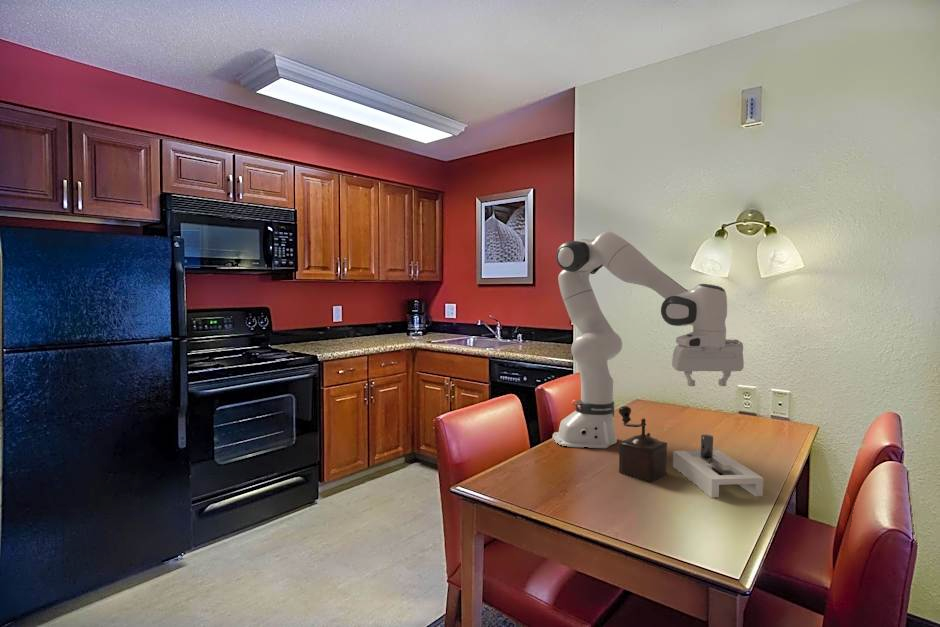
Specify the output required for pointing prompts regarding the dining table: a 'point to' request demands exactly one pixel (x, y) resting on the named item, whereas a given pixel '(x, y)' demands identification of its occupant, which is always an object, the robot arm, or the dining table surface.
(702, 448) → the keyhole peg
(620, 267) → the robot arm
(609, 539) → the dining table surface
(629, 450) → the manual coffee grinder
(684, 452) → the keyhole board
